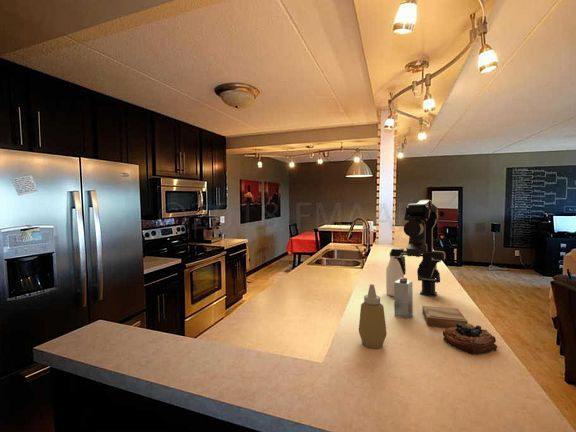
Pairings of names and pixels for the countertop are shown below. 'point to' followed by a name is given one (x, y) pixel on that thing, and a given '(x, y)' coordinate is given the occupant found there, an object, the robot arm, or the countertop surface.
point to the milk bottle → (393, 274)
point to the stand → (443, 317)
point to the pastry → (470, 339)
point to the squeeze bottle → (372, 320)
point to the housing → (403, 298)
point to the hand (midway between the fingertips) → (417, 276)
